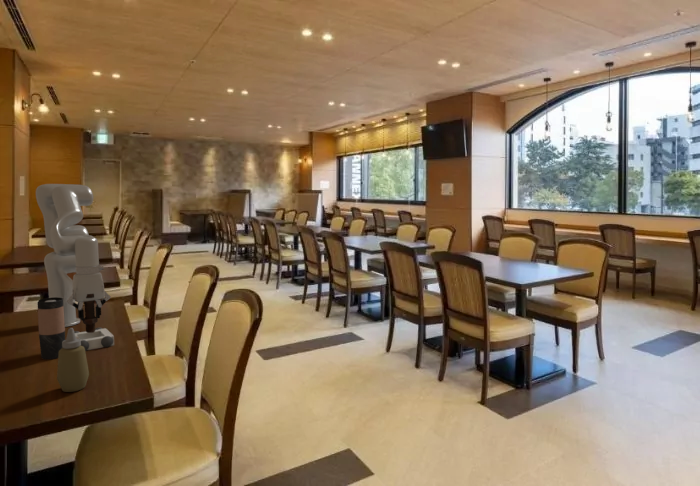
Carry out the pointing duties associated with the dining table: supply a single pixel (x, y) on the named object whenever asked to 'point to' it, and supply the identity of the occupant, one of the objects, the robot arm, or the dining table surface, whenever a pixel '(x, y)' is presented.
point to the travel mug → (51, 326)
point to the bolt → (90, 315)
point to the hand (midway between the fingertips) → (90, 318)
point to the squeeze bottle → (72, 364)
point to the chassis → (95, 339)
